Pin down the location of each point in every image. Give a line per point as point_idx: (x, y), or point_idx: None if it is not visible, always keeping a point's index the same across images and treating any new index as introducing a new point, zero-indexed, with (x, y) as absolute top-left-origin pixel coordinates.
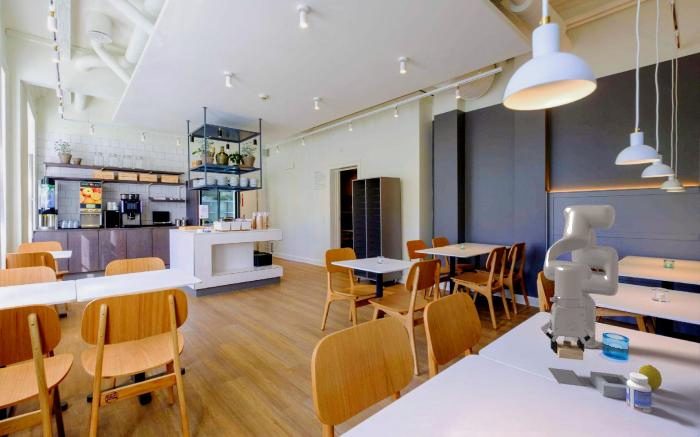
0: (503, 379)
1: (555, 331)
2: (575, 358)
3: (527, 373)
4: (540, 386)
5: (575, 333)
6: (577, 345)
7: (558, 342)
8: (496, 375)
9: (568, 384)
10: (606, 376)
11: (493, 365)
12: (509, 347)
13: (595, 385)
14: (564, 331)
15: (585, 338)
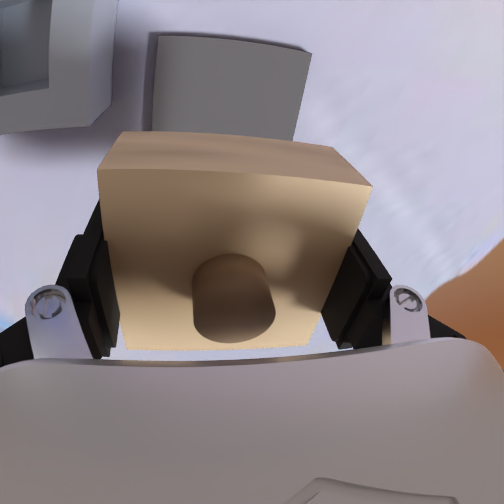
0: (497, 114)
1: (501, 376)
2: (191, 136)
3: (394, 161)
4: (406, 44)
5: (187, 441)
6: (118, 301)
7: (277, 326)
8: (499, 143)
9: (260, 43)
10: (21, 91)
11: (465, 214)
12: (321, 346)
13: (108, 41)
14: (421, 426)
15: (21, 355)
